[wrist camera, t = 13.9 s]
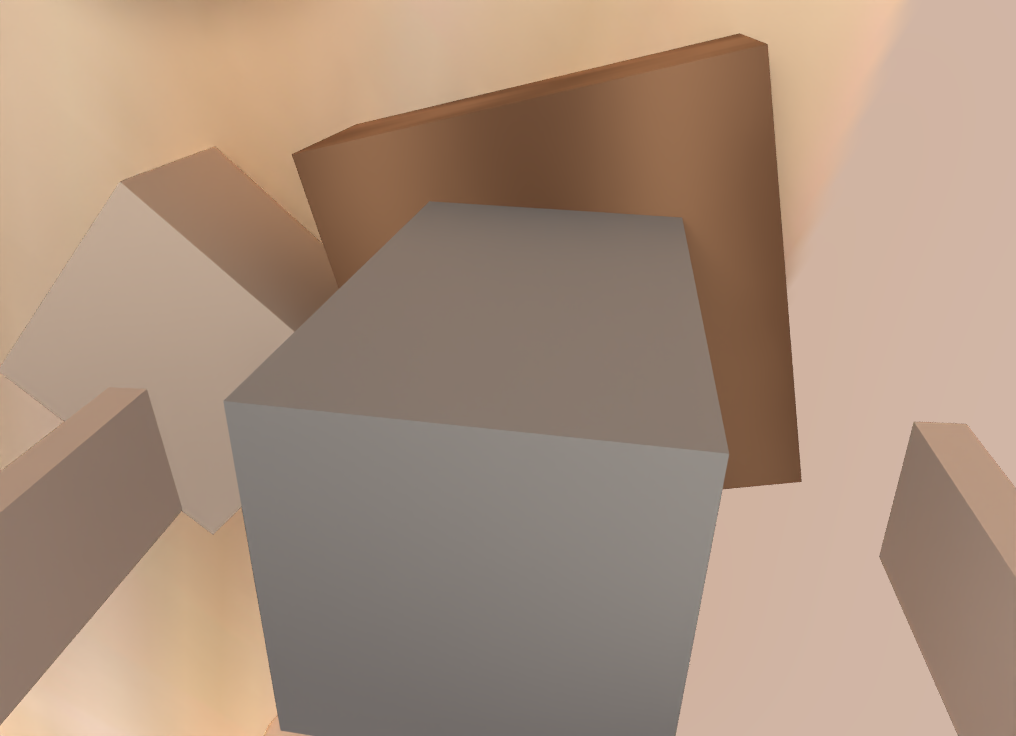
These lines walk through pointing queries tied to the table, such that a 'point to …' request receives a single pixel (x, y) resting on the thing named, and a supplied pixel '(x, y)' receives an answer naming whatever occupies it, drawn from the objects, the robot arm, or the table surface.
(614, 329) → the slate block
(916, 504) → the robot arm
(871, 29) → the table surface
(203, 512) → the grey block
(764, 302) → the walnut block
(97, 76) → the table surface
